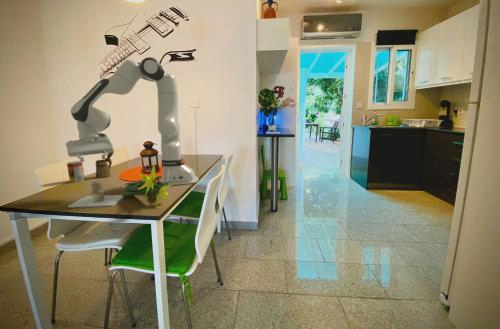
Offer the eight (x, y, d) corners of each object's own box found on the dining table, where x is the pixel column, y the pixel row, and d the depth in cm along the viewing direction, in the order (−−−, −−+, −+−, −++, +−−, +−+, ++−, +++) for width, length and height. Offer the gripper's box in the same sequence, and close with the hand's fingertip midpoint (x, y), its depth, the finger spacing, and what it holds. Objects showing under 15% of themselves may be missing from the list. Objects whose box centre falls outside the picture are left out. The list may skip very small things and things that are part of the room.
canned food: (79, 178, 163) (76, 160, 160) (87, 179, 160) (84, 161, 158) (67, 181, 156) (63, 163, 153) (75, 182, 153) (72, 163, 150)
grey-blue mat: (126, 195, 127) (126, 194, 127) (113, 205, 113) (113, 204, 113) (85, 197, 125) (85, 196, 125) (68, 207, 112) (67, 206, 112)
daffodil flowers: (147, 191, 136) (187, 186, 114) (128, 211, 126) (168, 210, 105) (126, 168, 128) (164, 158, 107) (104, 188, 118) (141, 182, 97)
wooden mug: (119, 174, 172) (116, 149, 168) (98, 178, 162) (95, 151, 158) (114, 173, 177) (110, 148, 174) (93, 176, 167) (89, 150, 163)
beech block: (103, 198, 122) (101, 180, 120) (104, 200, 118) (102, 182, 117) (93, 199, 120) (90, 182, 118) (93, 202, 116) (90, 184, 114)
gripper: (64, 137, 123) (67, 158, 118) (110, 133, 134) (115, 153, 129) (66, 145, 128) (69, 166, 122) (110, 141, 139) (115, 160, 133)
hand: (93, 159), depth 125 cm, fingers open, 8 cm apart
